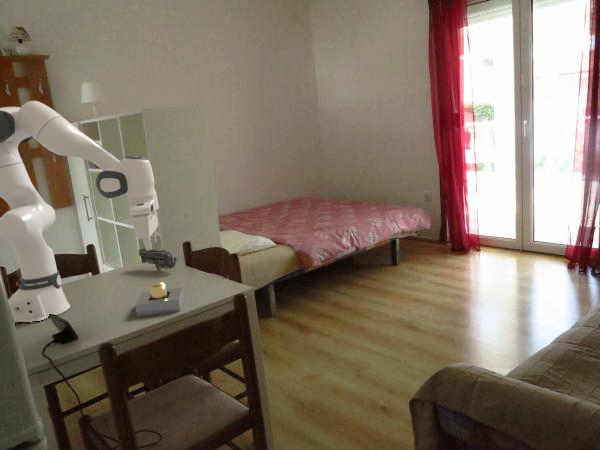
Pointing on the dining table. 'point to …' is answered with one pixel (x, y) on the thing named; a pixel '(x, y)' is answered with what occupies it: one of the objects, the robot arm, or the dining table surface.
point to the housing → (159, 303)
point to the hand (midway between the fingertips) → (151, 246)
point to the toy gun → (158, 258)
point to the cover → (158, 290)
